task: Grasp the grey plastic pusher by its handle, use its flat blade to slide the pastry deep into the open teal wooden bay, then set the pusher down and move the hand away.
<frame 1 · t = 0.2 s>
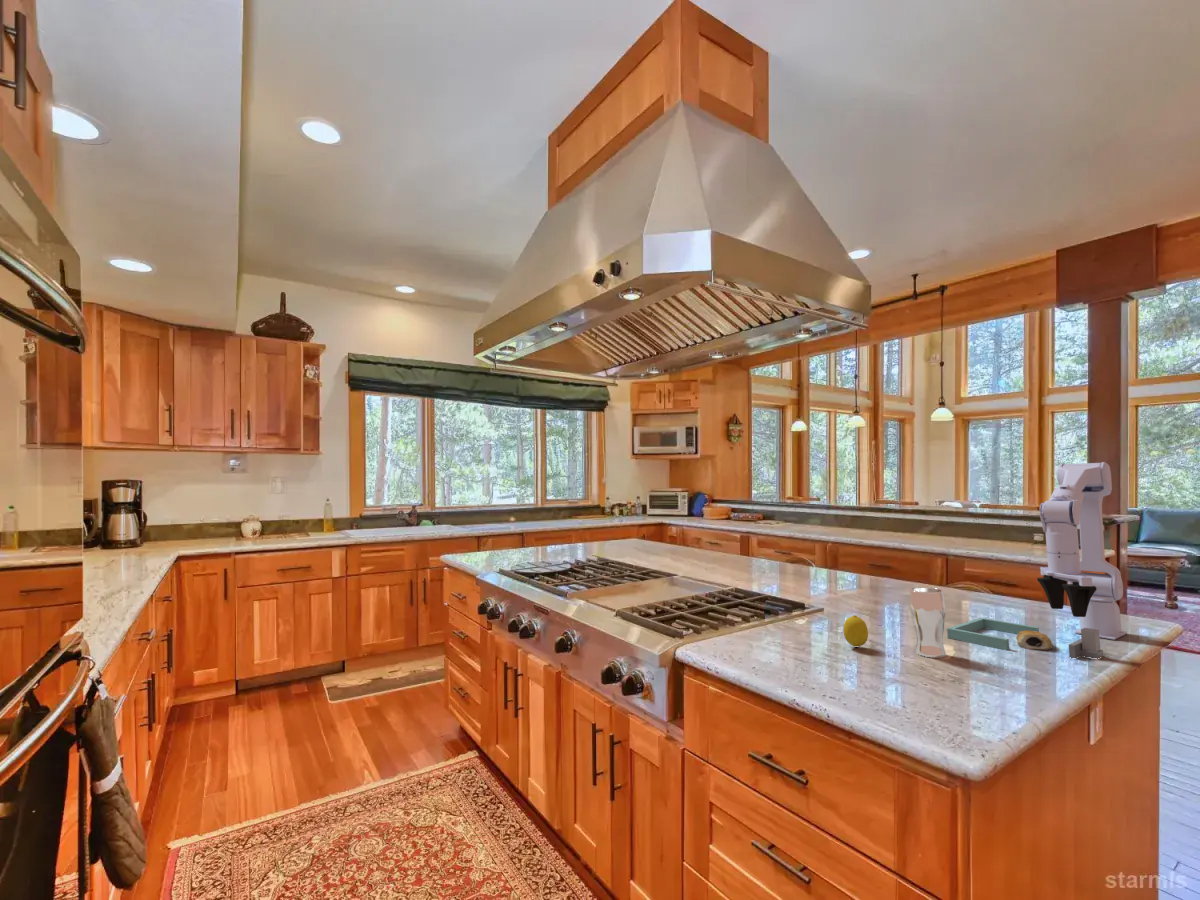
hand: (1067, 612, 125), 10 cm above the table, tool pointing down, fingers open, 7 cm apart
lemon: (856, 649, 135), on the table
beer glass: (930, 655, 128), on the table
pastry: (1033, 647, 133), on the table
bay: (995, 637, 140), on the table
pusher: (1089, 656, 124), on the table
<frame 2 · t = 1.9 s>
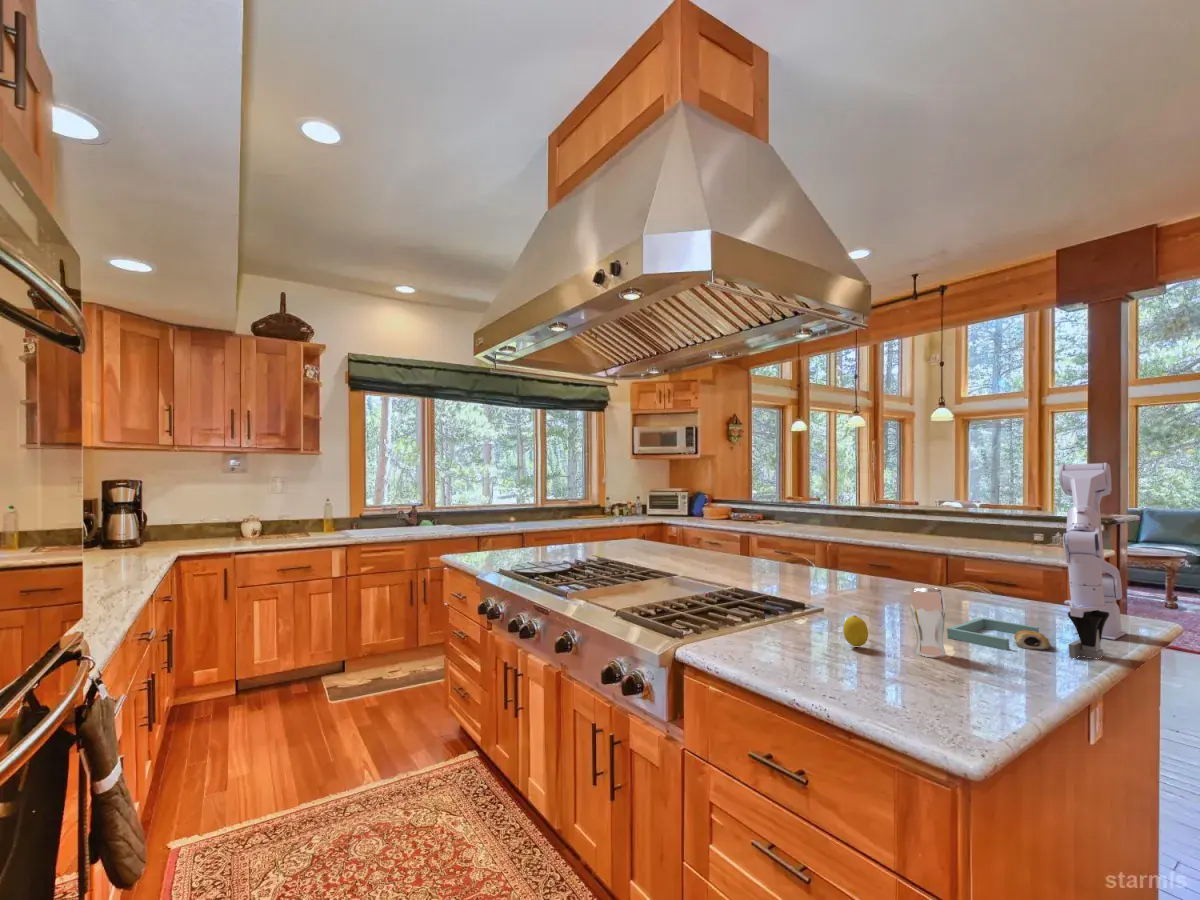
hand: (1091, 644, 124), 3 cm above the table, tool pointing down, fingers closed on pusher, 2 cm apart
pusher: (1089, 655, 124), on the table, touching gripper
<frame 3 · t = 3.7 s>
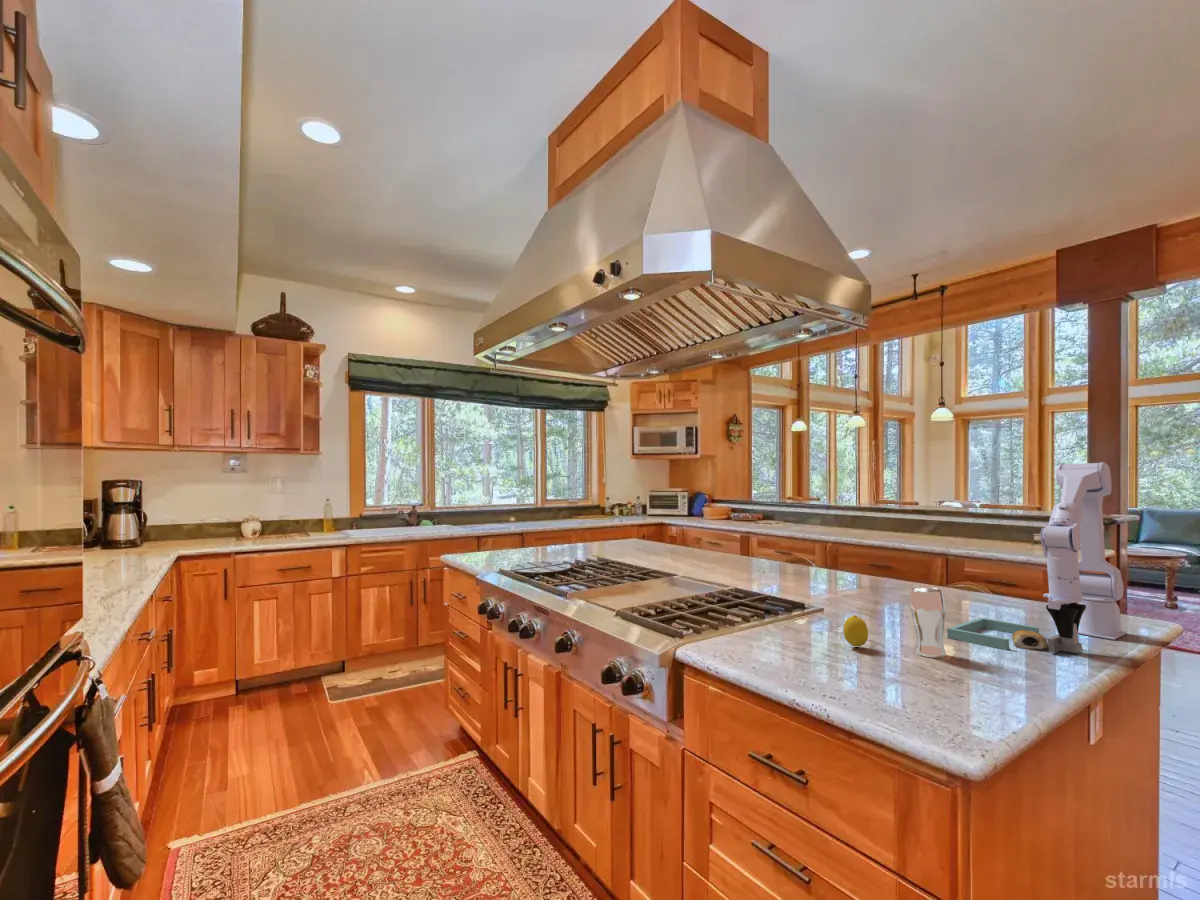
hand: (1068, 636, 127), 4 cm above the table, tool pointing down, fingers closed on pusher, 2 cm apart
pusher: (1068, 649, 127), on the table, touching gripper
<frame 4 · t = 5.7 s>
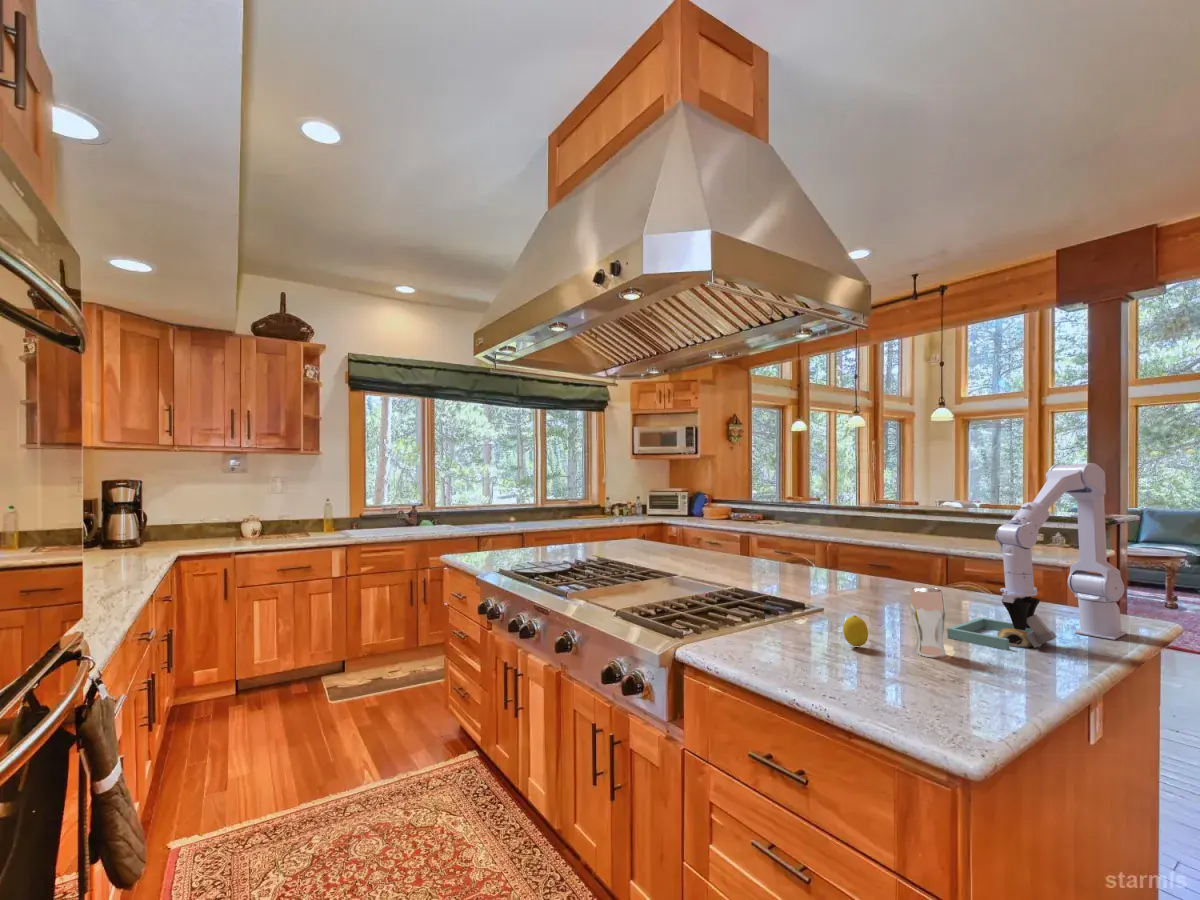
hand: (1022, 628, 135), 4 cm above the table, tool pointing down, fingers closed on pusher, 3 cm apart
pastry: (1014, 644, 135), on the table
pusher: (1046, 641, 131), point 1 cm above the table, tilted 34°, touching gripper
everything else where it was.
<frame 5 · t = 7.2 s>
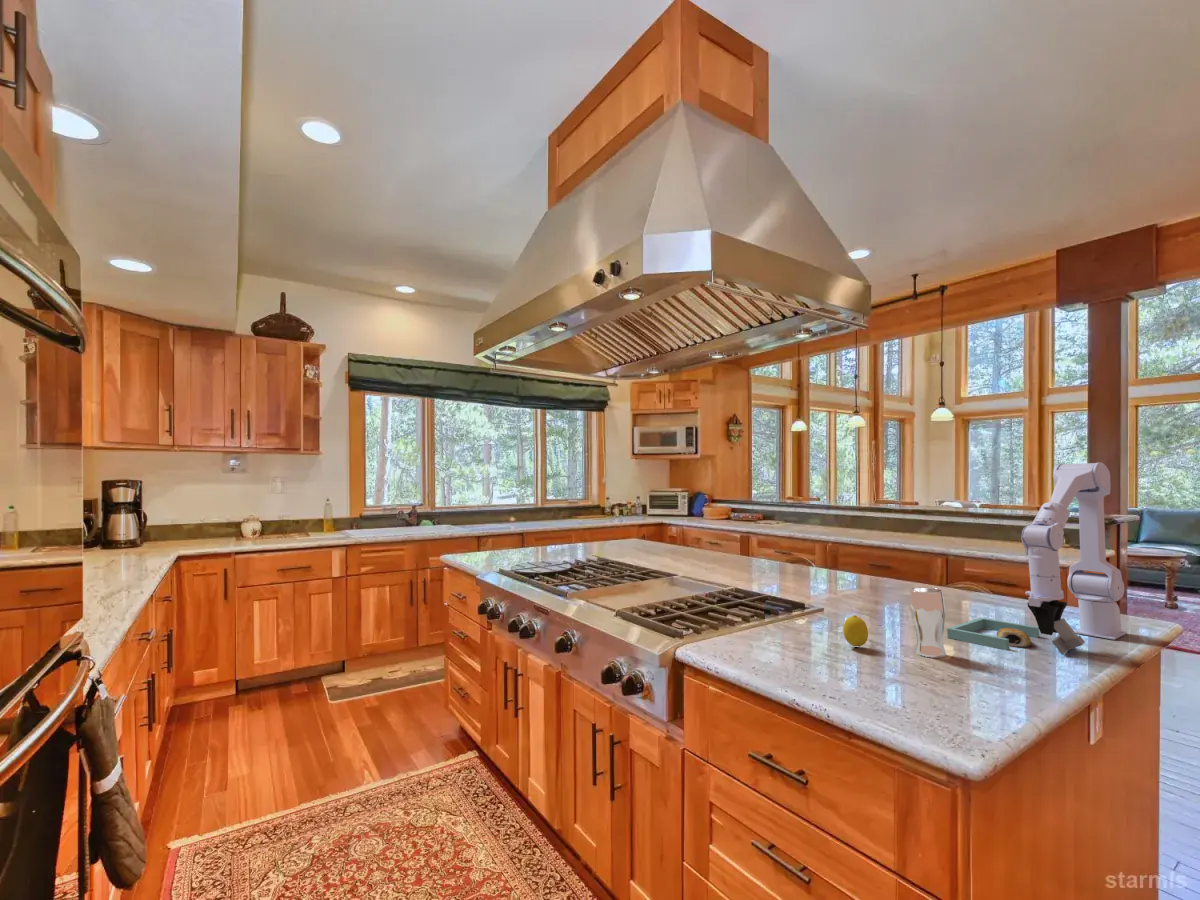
hand: (1049, 633, 130), 4 cm above the table, tool pointing down, fingers closed on pusher, 3 cm apart
pusher: (1074, 646, 127), point 1 cm above the table, tilted 32°, touching gripper
when the fingers open (3 cm above the table, at t = 8.2 s): pusher drops 1 cm, on the table.
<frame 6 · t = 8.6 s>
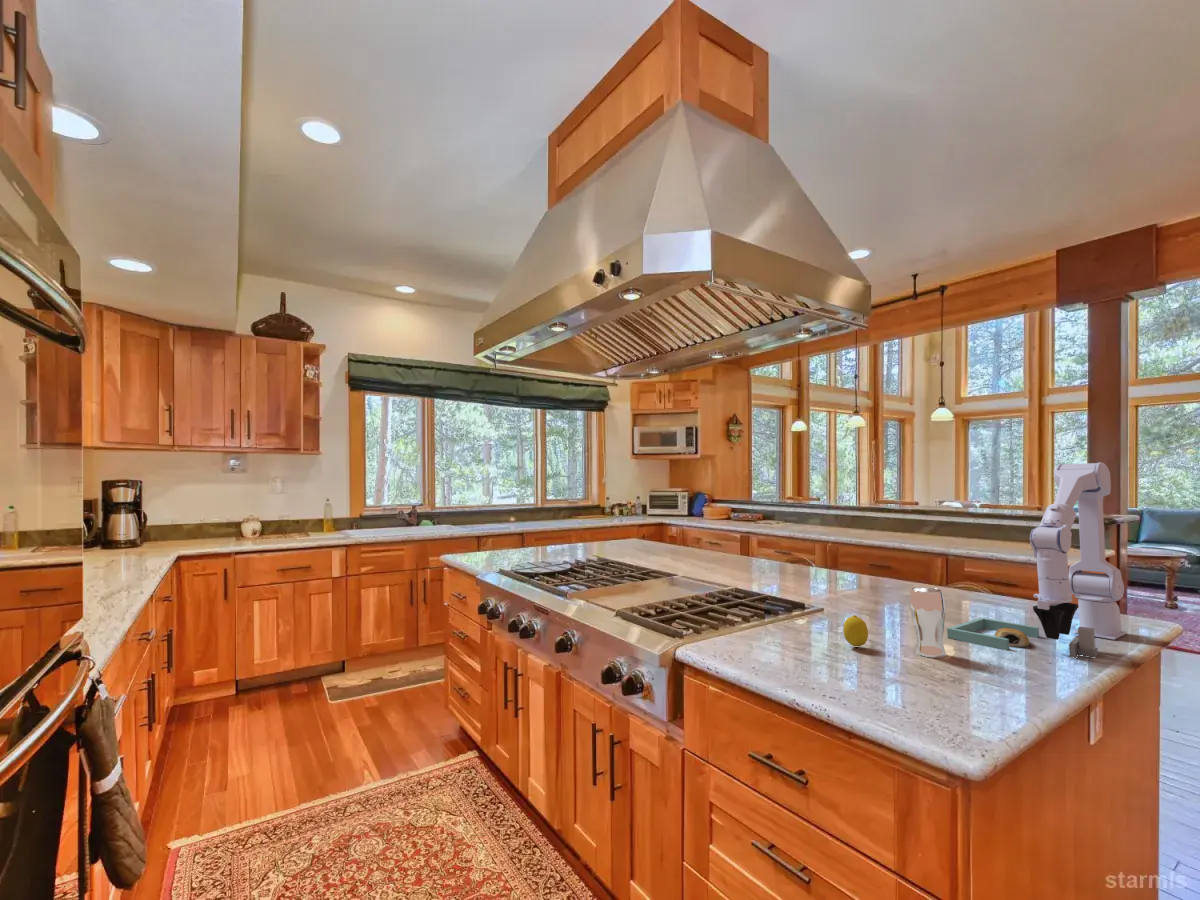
hand: (1057, 636, 129), 3 cm above the table, tool pointing down, fingers open, 6 cm apart
pusher: (1085, 654, 125), on the table
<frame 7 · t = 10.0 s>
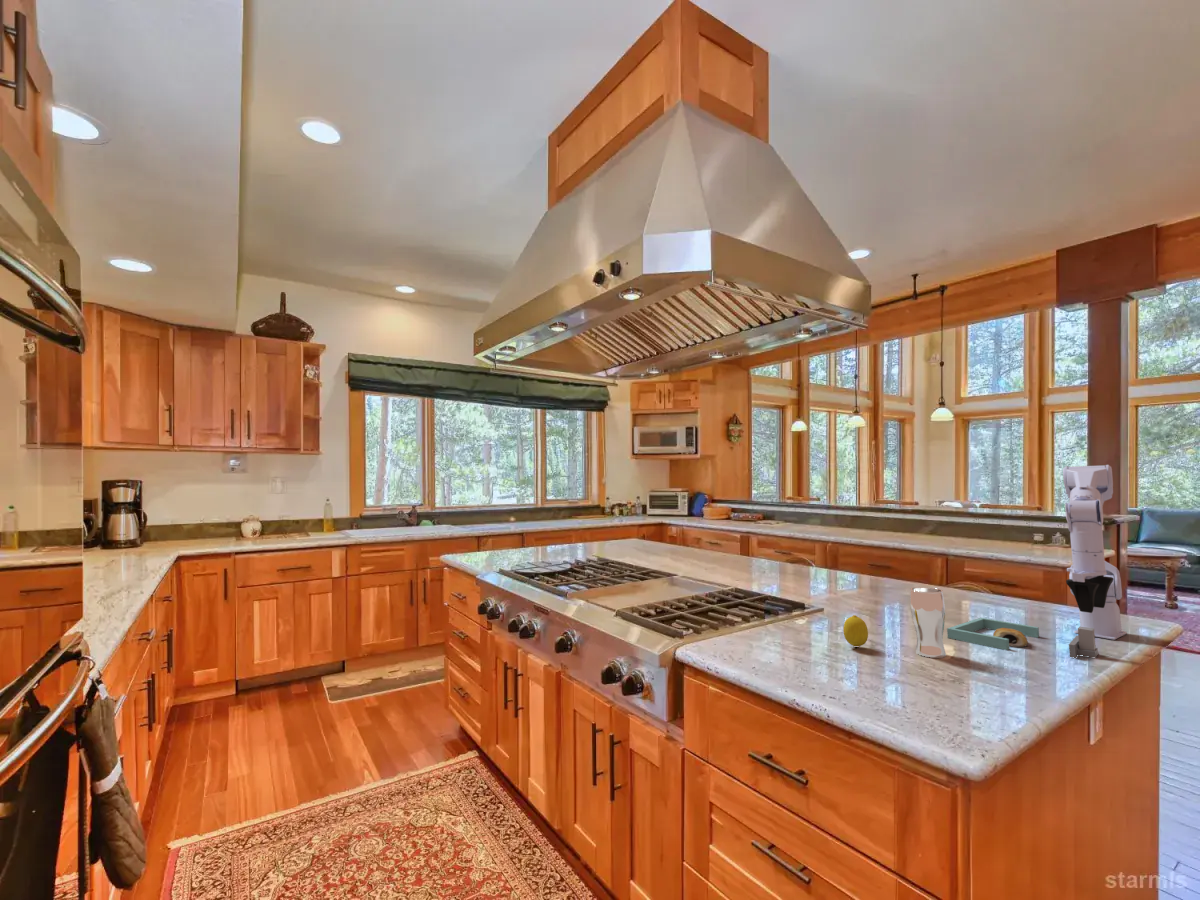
hand: (1092, 609, 128), 9 cm above the table, tool pointing down, fingers open, 7 cm apart
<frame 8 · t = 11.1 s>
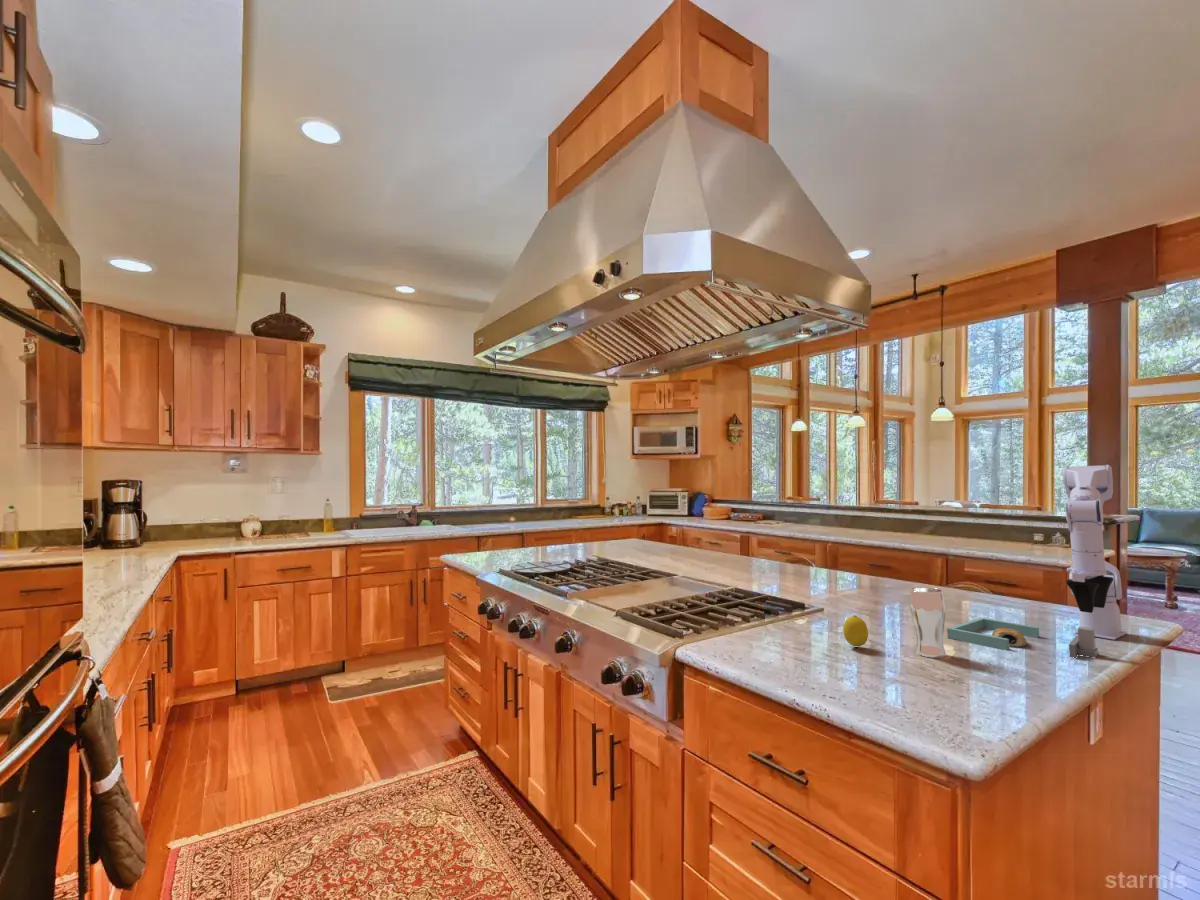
hand: (1092, 609, 128), 9 cm above the table, tool pointing down, fingers open, 7 cm apart
at the end: pastry inside the target area (4.6 cm from its centre), on the table; the gripper is holding nothing; pusher tilted 0° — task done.
